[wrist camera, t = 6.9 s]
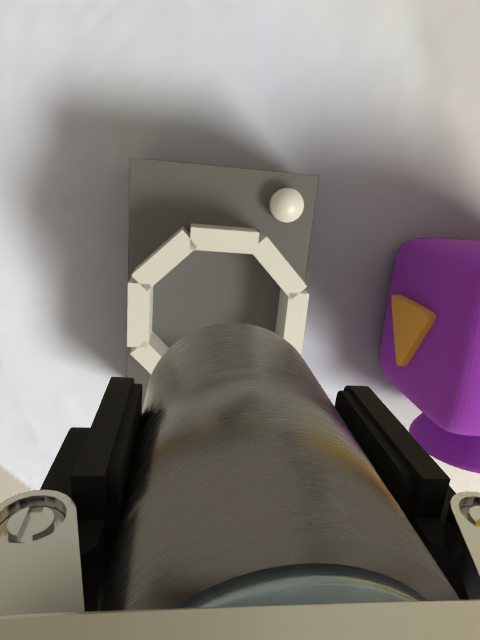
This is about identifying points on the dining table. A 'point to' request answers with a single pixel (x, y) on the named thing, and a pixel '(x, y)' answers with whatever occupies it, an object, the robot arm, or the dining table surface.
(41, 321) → the dining table surface
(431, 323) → the toy camera
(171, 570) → the lens
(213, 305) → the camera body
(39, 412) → the dining table surface
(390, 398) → the dining table surface
